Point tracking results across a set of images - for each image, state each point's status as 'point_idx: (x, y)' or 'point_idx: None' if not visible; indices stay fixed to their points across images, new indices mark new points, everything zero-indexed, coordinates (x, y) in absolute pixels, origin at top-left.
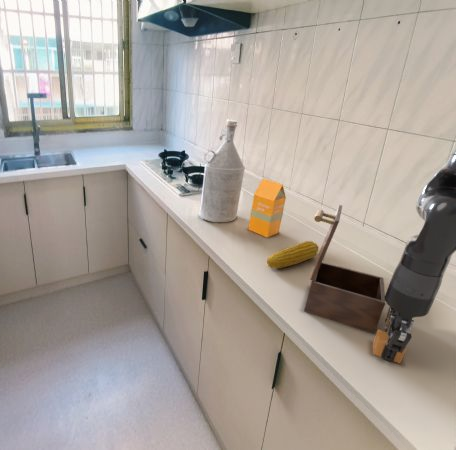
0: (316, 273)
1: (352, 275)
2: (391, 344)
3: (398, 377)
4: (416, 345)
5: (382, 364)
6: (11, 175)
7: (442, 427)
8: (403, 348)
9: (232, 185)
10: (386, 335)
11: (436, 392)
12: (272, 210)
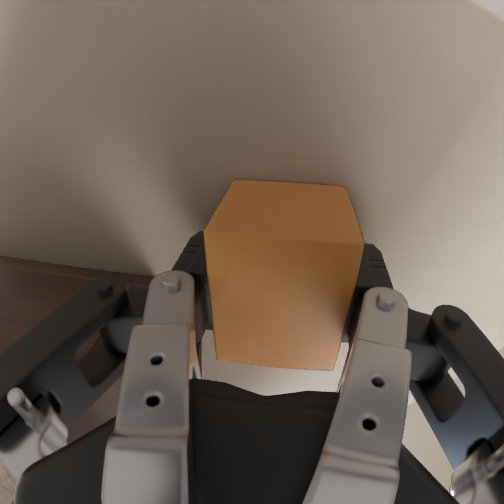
0: None
1: None
2: (461, 401)
3: (451, 212)
4: (110, 87)
5: (387, 266)
6: None
7: None
8: (494, 354)
9: (3, 497)
10: (255, 333)
11: (481, 58)
12: None
